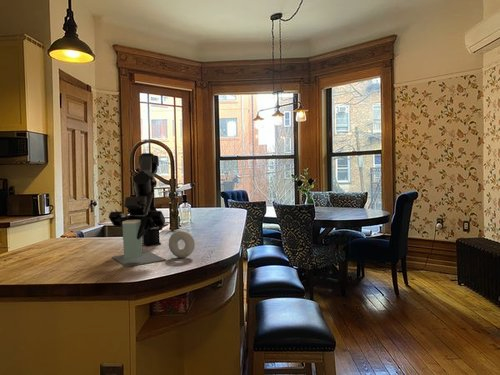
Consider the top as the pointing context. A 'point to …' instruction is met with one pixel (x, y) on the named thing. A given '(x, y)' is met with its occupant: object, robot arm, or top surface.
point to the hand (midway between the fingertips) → (130, 238)
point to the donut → (186, 238)
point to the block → (131, 239)
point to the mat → (139, 259)
